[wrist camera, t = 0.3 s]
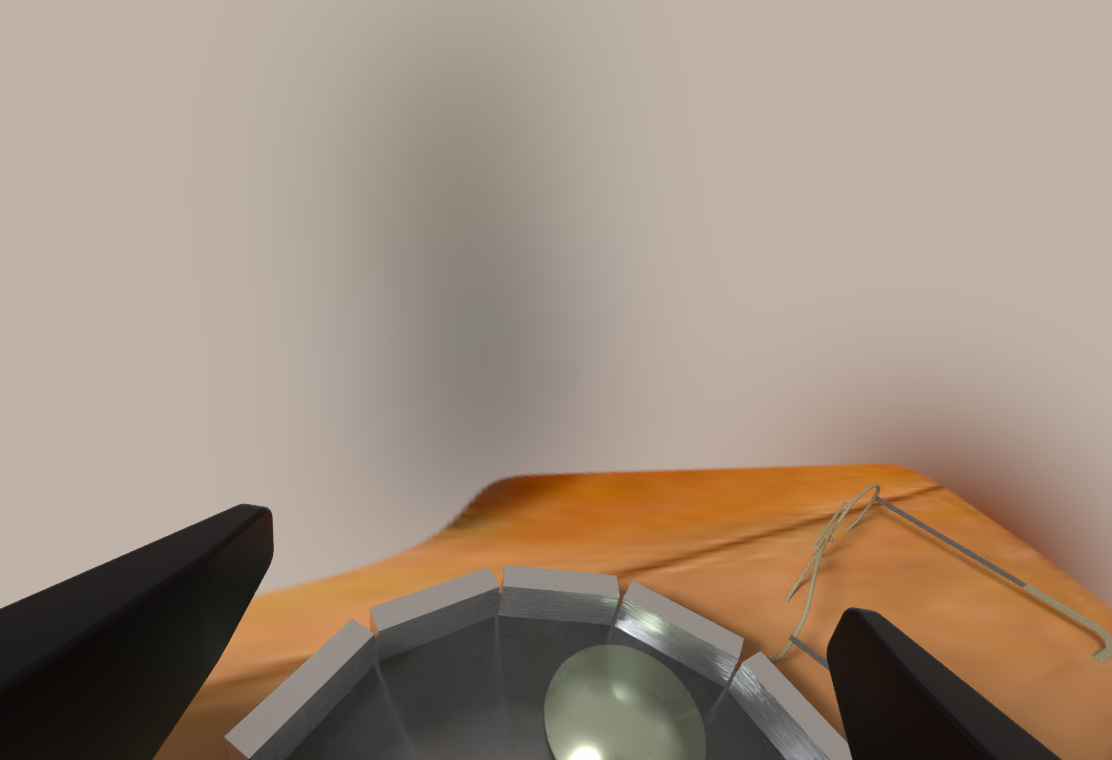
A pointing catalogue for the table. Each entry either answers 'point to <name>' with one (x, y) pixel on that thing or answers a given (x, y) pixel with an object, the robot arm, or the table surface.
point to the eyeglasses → (1102, 655)
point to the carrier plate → (534, 682)
